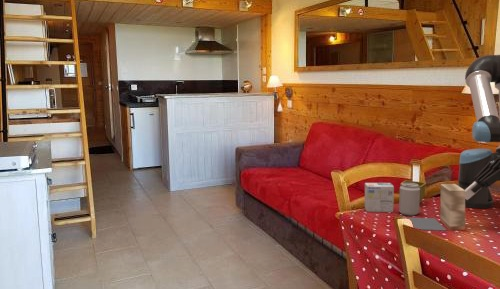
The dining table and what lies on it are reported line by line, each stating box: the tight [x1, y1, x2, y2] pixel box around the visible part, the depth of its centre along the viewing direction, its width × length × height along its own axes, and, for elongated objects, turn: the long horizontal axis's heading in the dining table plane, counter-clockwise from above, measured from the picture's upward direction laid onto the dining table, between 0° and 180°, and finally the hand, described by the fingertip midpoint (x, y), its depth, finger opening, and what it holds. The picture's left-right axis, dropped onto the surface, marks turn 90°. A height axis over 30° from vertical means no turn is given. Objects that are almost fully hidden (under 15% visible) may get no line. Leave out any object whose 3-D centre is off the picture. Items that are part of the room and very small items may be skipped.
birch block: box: [440, 183, 466, 231], centre depth 145 cm, size 5×10×14 cm, turn 172°
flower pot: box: [399, 180, 427, 204], centre depth 174 cm, size 9×9×9 cm
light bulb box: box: [364, 182, 395, 213], centre depth 165 cm, size 11×7×11 cm, turn 84°
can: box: [398, 182, 421, 217], centre depth 160 cm, size 8×8×12 cm
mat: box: [407, 217, 447, 232], centre depth 148 cm, size 13×13×1 cm
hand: (463, 196), depth 144 cm, fingers closed
